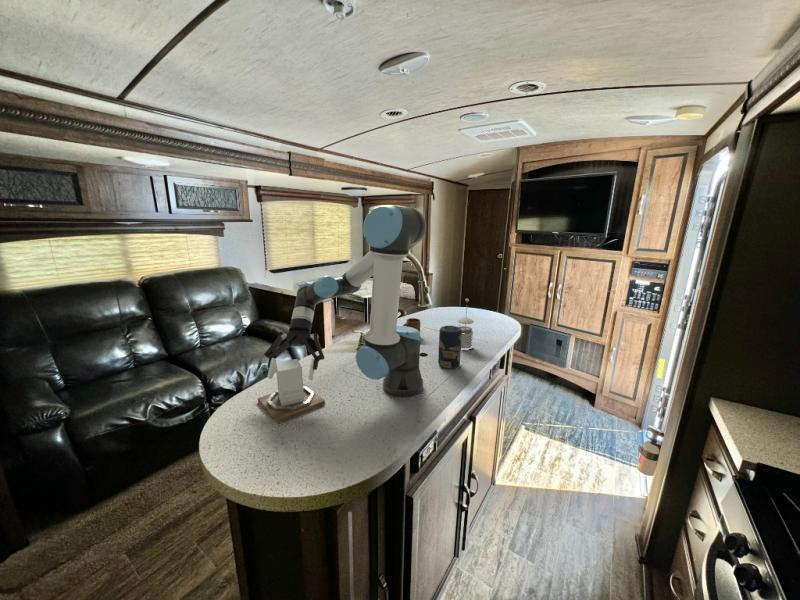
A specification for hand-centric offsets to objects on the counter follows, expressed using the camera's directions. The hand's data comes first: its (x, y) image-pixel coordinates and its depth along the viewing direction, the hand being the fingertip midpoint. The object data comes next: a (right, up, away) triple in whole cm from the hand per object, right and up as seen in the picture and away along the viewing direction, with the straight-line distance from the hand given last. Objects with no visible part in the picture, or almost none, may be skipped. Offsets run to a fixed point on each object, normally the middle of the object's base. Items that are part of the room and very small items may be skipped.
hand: (290, 378), depth 106 cm
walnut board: (0, -9, +1) cm, 9 cm away
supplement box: (0, -7, +1) cm, 7 cm away
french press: (+68, +2, +53) cm, 87 cm away
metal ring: (0, -7, +1) cm, 7 cm away
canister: (+58, -2, +33) cm, 67 cm away
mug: (+42, +6, +65) cm, 78 cm away
